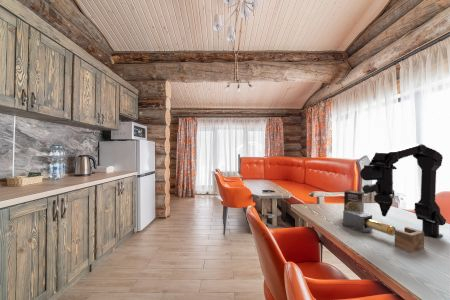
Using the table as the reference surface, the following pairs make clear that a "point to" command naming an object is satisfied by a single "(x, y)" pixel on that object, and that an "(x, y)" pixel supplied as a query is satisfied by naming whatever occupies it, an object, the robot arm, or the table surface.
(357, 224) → the sleeve
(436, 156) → the robot arm
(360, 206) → the coffee box
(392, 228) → the tube
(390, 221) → the table surface
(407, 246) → the socket cradle
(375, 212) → the table surface
